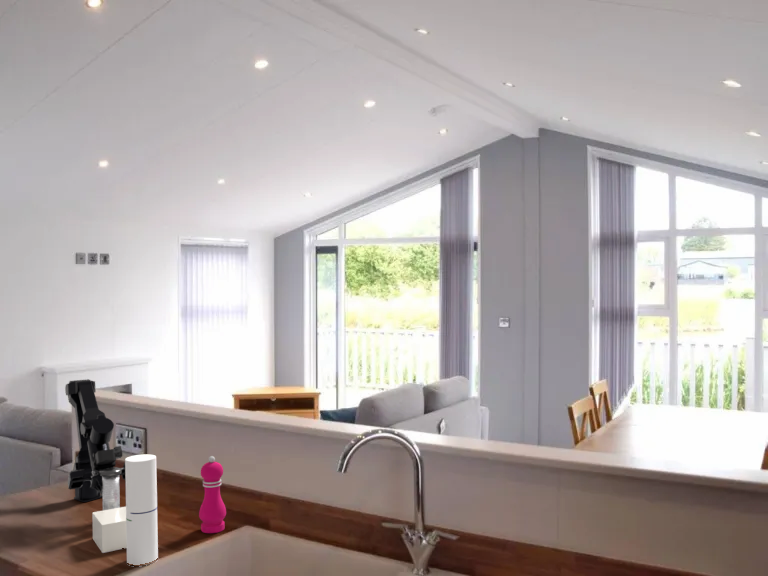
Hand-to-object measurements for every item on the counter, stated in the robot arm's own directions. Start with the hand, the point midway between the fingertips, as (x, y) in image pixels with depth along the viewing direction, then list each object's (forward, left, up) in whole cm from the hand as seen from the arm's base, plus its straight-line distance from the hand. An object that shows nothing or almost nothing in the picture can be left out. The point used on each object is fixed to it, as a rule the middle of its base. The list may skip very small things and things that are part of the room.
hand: (109, 500), depth 196 cm
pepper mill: (-14, +27, -7) cm, 31 cm away
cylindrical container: (+10, +30, -7) cm, 32 cm away
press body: (+5, +13, -7) cm, 16 cm away
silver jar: (+2, +6, -7) cm, 9 cm away
